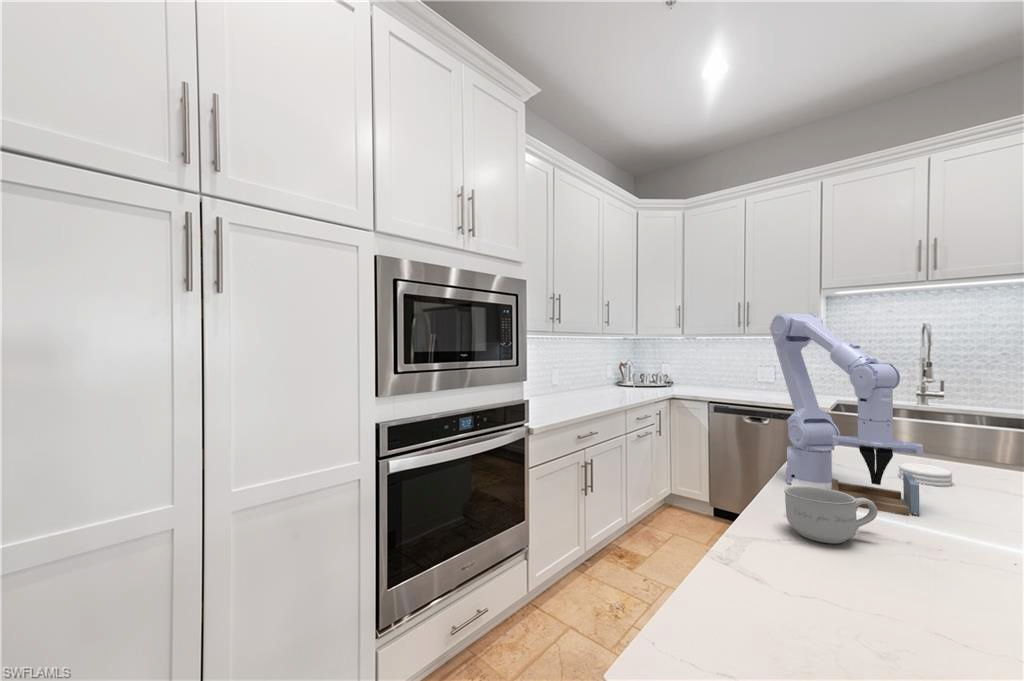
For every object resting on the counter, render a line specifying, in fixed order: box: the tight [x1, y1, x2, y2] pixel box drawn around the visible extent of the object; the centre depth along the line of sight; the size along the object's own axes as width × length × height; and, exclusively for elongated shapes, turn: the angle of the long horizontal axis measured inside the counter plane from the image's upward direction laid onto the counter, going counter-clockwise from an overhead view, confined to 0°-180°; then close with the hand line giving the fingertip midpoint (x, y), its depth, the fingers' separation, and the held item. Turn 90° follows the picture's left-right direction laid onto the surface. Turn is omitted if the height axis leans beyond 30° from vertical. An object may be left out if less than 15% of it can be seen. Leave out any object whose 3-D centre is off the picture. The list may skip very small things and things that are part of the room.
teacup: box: [783, 485, 878, 545], centre depth 77 cm, size 14×11×8 cm
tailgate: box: [902, 472, 920, 517], centre depth 87 cm, size 1×11×6 cm, turn 143°
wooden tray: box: [831, 478, 910, 517], centre depth 91 cm, size 12×12×4 cm
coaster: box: [898, 462, 953, 488], centre depth 110 cm, size 10×10×4 cm
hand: (875, 483), depth 90 cm, fingers closed
